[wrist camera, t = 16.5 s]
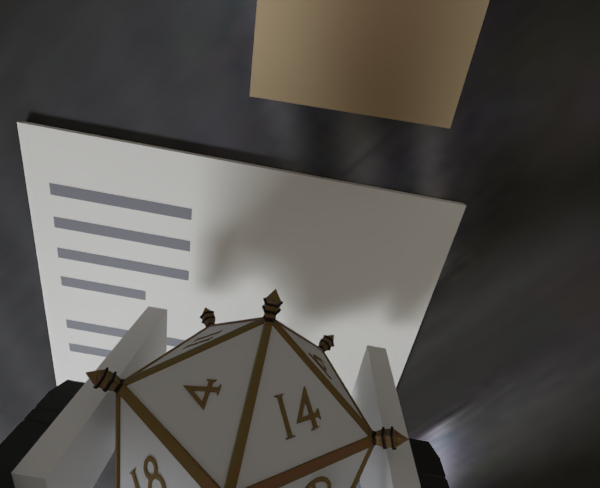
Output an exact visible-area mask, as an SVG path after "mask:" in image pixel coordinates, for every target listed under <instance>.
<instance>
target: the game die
mask: <svg viewBox="0 0 600 488" xmlns="http://www.w3.org/2000/svg"><path fill="white" fill-rule="evenodd" d="M263 300H264V302H265V303H264V305H262V308H263V311H264V316H263V317H259V318H252V319H246V320H239V321H232V322H225V323H218V324H215V323H214V322H215V316H214V311H211V310H209V309H207V308H206V307H205V309H204V311H203V313H202V315H201V316H200V318H201V319H202V323H203V324H205V326H206V327H205V328H204V329H202V330H201V331H199V332H198V333H196V334H194V335H193V336H191V337H190V338H188V339H187V340H185V341H184V342H182V343H180V344H179V345H177V346H176V347H174V348H173V349H171V350H169V351H168V352H166V353H165V354H163V355H162V356H160V357H158V358H157V359H155V360H154V361H152V362H151V363H149V364H148V365H146V366H144V367H143V368H141V369H140V370H138V371H137V372H135V373H133V374H132V375H130V376H129V377H127V378H126V379H121V378H119V377H118V376H117V375H116V373H117V372H116V371H115V372H114V373H113V372H111V371H109V370H108V367H106V369H103V370H97V371H91V372H85V373H86V374H87V376H88V377H89V379H90V380H91V382H92V383H93V385H94V386H93V388H95V389H97V388H101V389H102V391H104V392H107V391H114V392H115V393H116V426H115V488H356V485H357V483H358V481H359V479H360V477H361V474H362V472H363V470H364V468H365V466H366V463H367V461H368V459H369V457H370V455H371V452H372V450H373V448H374V446H375V445H378V446H381V447H383V449H388V448H392V450H396V447H398V446H399V445H401V444H403V443H404V442H406V441H407V440H409V439H408V438H406V437H405V436H403V435H402V434H400V433H399V432H398V431H396V430H395V429H394V428H393V426H391V429H385V428H384V427H382V429H381V430H378V431H372V429H371V427H370V426H369V424H368V422H367V421H366V419H365V417H364V416H363V414H362V413H361V411H360V409H359V408H358V406H357V404H356V403H355V401H354V400H353V398H352V396H351V395H350V393H349V391H348V390H347V388H346V386H345V385H344V383H343V382H342V380H341V378H340V377H339V375H338V373H337V372H336V370H335V369H334V367H333V365H332V364H331V362H330V360H329V359H328V357H327V355H326V354H325V351H327V350H331V349H330V348H331V347H334V343H333V342H334V335H327V336H326V335H324V336H323V339H321V340H320V342H319V346H317V345H315V344H314V343H312V342H311V341H309V340H307V339H306V338H304V337H303V336H301V335H300V334H298V333H296V332H295V331H293V330H292V329H290V328H289V327H287V326H285V325H284V324H282V323H281V322H279V321H278V320H276V315H277V314H278V313H279V312H280V311H281V309H280V306H281V305H282V304H283V302H282V301H281V300H280V297H279V295H278V293H277V290H276V289H275V290H274V291H273V292H272V293H271V294H269V295H268V296H267V297H266V298H263Z"/></svg>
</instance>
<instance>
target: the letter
mask: <svg viewBox="0 0 600 488" xmlns="http://www.w3.org/2000/svg"><path fill="white" fill-rule="evenodd" d="M17 126H18V133H19V140H20V146H21V153H22V159H23V166H24V173H25V179H26V186H27V192H28V199H29V206H30V212H31V219H32V226H33V232H34V239H35V245H36V252H37V259H38V265H39V272H40V278H41V285H42V292H43V298H44V305H45V312H46V318H47V325H48V331H49V338H50V345H51V351H52V358H53V364H54V371H55V378H56V384H57V386H59V385H60V384H62V383H63V382H65V381H66V380H72V381H78V382H83V383H86V381H87V380H88V379H89V377H88V376H87V374H86V373H85V372H91V371H95V370H96V369H97V368H98V367H99V366H100V364H101V363H102V362H103V361H104V359H105V358H106V357H107V356H108V355H109V353H110V352H111V351H112V350H113V349H114V347H115V346H116V345H117V344H118V342H119V341H120V340H121V339H122V338H123V336H124V335H125V334H126V333H127V332H128V330H129V329H130V328H131V327H132V325H133V324H134V323H135V322H136V321H137V319H138V318H139V317H140V316H141V315H142V313H143V312H144V311H145V310H146V308H147V307H148V306H150V307H156V308H162V309H167V349H166V352H168V351H169V350H171V349H173V348H174V347H176V346H177V345H179V344H180V343H182V342H184V341H185V340H187V339H188V338H190V337H191V336H193V335H194V334H196V333H198V332H199V331H201V330H202V329H204V328H205V327H206V326H205V324H203V323H202V319H201V318H200V316H201V315H202V313H203V311H204V309H205V307H206V308H207V309H209V310H211V311H214V316H215V322H214V323H215V324H218V323H225V322H232V321H239V320H246V319H252V318H259V317H263V316H264V311H263V308H262V305H264V303H265V302H264V300H263V298H266V297H267V296H268V295H269V294H271V293H272V292H273V291H274V290H275V289H276V290H277V293H278V295H279V297H280V300H281V301H282V302H283V304H282V305H281V306H280V309H281V311H280V312H279V313H278V314H277V315H276V320H278V321H279V322H281V323H282V324H284V325H285V326H287V327H289V328H290V329H292V330H293V331H295V332H296V333H298V334H300V335H301V336H303V337H304V338H306V339H307V340H309V341H311V342H312V343H314V344H315V345H317V346H319V342H320V340H321V339H323V336H324V335H326V336H327V335H334V342H333V343H334V347H331V348H330V349H331V350H327V351H325V354H326V355H327V357H328V359H329V360H330V362H331V364H332V365H333V367H334V369H335V370H336V372H337V373H338V375H339V377H340V378H341V380H342V382H343V383H344V385H345V386H346V388H347V390H348V391H349V393H350V395H351V396H352V391H353V388H354V385H355V382H356V379H357V376H358V373H359V369H360V366H361V363H362V360H363V357H364V354H365V351H366V348H367V345H369V346H374V347H380V348H385V349H386V352H387V356H388V359H389V363H390V367H391V371H392V375H393V379H394V383H395V387H397V384H398V382H399V379H400V377H401V374H402V371H403V369H404V366H405V364H406V361H407V358H408V356H409V353H410V351H411V348H412V346H413V343H414V340H415V338H416V335H417V333H418V330H419V327H420V325H421V322H422V320H423V317H424V315H425V312H426V309H427V307H428V304H429V302H430V299H431V296H432V294H433V291H434V289H435V286H436V283H437V281H438V278H439V276H440V273H441V271H442V268H443V265H444V263H445V260H446V258H447V255H448V252H449V250H450V247H451V245H452V242H453V239H454V237H455V234H456V232H457V229H458V227H459V224H460V221H461V219H462V216H463V214H464V211H465V208H466V205H465V204H464V203H461V202H455V201H450V200H444V199H439V198H434V197H428V196H423V195H418V194H412V193H407V192H401V191H396V190H391V189H385V188H380V187H375V186H369V185H364V184H358V183H353V182H348V181H342V180H337V179H332V178H326V177H321V176H315V175H310V174H305V173H299V172H294V171H289V170H283V169H278V168H272V167H267V166H262V165H256V164H251V163H246V162H240V161H235V160H229V159H224V158H219V157H213V156H208V155H202V154H197V153H192V152H186V151H181V150H176V149H170V148H165V147H159V146H154V145H149V144H143V143H138V142H133V141H127V140H122V139H116V138H111V137H106V136H100V135H95V134H90V133H84V132H79V131H73V130H68V129H63V128H57V127H52V126H47V125H41V124H36V123H30V122H17Z"/></svg>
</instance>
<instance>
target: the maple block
mask: <svg viewBox="0 0 600 488" xmlns="http://www.w3.org/2000/svg"><path fill="white" fill-rule="evenodd" d="M489 1H490V0H257V10H256V22H255V34H254V47H253V59H252V71H251V84H250V97H257V98H263V99H269V100H275V101H281V102H288V103H294V104H300V105H306V106H312V107H319V108H325V109H331V110H337V111H343V112H350V113H356V114H362V115H368V116H374V117H381V118H387V119H393V120H399V121H405V122H412V123H418V124H424V125H430V126H436V127H443V128H449V129H450V127H451V124H452V121H453V118H454V114H455V111H456V108H457V105H458V101H459V98H460V95H461V92H462V88H463V85H464V82H465V79H466V75H467V72H468V69H469V66H470V63H471V59H472V56H473V53H474V50H475V46H476V43H477V40H478V37H479V33H480V30H481V27H482V24H483V21H484V17H485V14H486V11H487V8H488V4H489Z"/></svg>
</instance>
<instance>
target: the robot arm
mask: <svg viewBox="0 0 600 488" xmlns="http://www.w3.org/2000/svg"><path fill="white" fill-rule="evenodd" d="M166 349H167V309H162V308H156V307H150V306H148V307H147V308H146V310H145V311H144V312H143V313H142V315H141V316H140V317H139V318H138V319H137V321H136V322H135V323H134V324H133V325H132V327H131V328H130V329H129V330H128V332H127V333H126V334H125V335H124V336H123V338H122V339H121V340H120V341H119V342H118V344H117V345H116V346H115V347H114V349H113V350H112V351H111V352H110V353H109V355H108V356H107V357H106V358H105V359H104V361H103V362H102V363H101V364H100V366H99V367H98V368H97V369H96V370H95V371H97V370H103V369H106V367H108V370H109V371H111V372H113V373H114V372H115V371H116V372H117V373H116V375H117V376H118V377H119V378H121V379H126V378H127V377H129V376H130V375H132V374H133V373H135V372H137V371H138V370H140V369H141V368H143V367H144V366H146V365H148V364H149V363H151V362H152V361H154V360H155V359H157V358H158V357H160V356H162V355H163V354H165V353H166ZM93 386H94V385H93V383H92V382H91V380H90V379H88V380H87V381H86V383H83V382H78V381H72V380H66V381H65V382H63V383H62V384H60V385H59V386H57V387H55V388H54V389H52V390H51V391H49V392H48V393H47V395H46V396H45V397H44V398H43V399H42V400H41V401H40V402H39V403H38V404H37V405H36V407H35V409H33V410H32V411H31V412H30V413H29V414H28V415H27V416H26V417H25V418H24V421H23V422H21V423H20V424H19V425H18V426H17V427H16V428H15V429H14V430H13V431H12V433H11V434H10V435H9V436H8V437H7V438H6V439H5V440H4V441H3V442H2V443H1V444H0V488H93V487H94V485H95V483H96V481H97V480H98V478H99V476H100V475H101V473H102V471H103V469H104V468H105V466H106V464H107V463H108V461H109V459H110V457H111V456H112V454H113V452H114V451H115V426H116V393H115V392H114V391H107V392H104V391H102V389H101V388H97V389H95V388H93ZM352 398H353V400H354V401H355V403H356V404H357V406H358V408H359V409H360V411H361V413H362V414H363V416H364V417H365V419H366V421H367V422H368V424H369V426H370V427H371V429H372V431H378V430H381V429H382V427H384V428H385V429H391V426H393V428H394V429H395V430H396V431H398V432H399V433H400V434H402V435H403V436H405V437H406V438H408V434H407V430H406V426H405V422H404V419H403V415H402V411H401V407H400V403H399V399H398V395H397V391H396V387H395V383H394V379H393V375H392V371H391V367H390V363H389V359H388V356H387V352H386V349H385V348H380V347H374V346H369V345H367V348H366V351H365V354H364V357H363V360H362V363H361V366H360V369H359V373H358V376H357V379H356V382H355V385H354V388H353V391H352ZM408 439H409V438H408ZM360 485H361V488H449V485H448V482H447V480H446V479H445V473H444V470H443V467H442V464H441V461H440V458H439V457H438V455H437V454H436V452H435V451H434V449H433V448H432V446H431V445H430V443H429V442H426V441H421V440H415V439H409V440H407V441H406V442H404V443H403V444H401V445H399V446H398V447H396V450H392V448H388V449H383V447H381V446H378V445H375V446H374V448H373V450H372V452H371V455H370V457H369V459H368V461H367V463H366V466H365V468H364V470H363V472H362V474H361V477H360Z"/></svg>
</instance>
